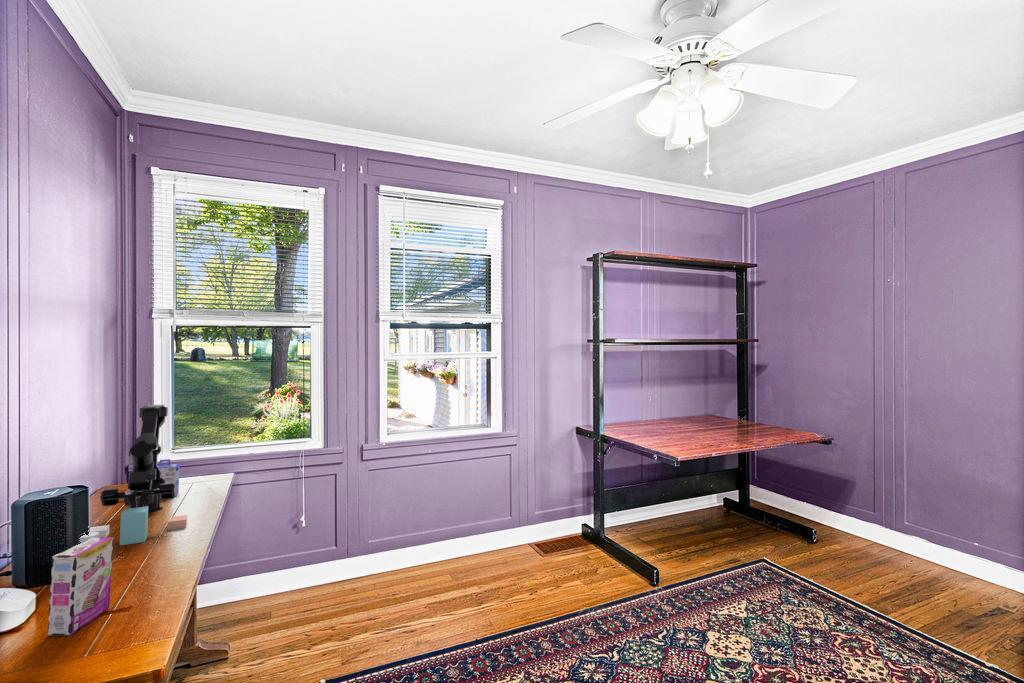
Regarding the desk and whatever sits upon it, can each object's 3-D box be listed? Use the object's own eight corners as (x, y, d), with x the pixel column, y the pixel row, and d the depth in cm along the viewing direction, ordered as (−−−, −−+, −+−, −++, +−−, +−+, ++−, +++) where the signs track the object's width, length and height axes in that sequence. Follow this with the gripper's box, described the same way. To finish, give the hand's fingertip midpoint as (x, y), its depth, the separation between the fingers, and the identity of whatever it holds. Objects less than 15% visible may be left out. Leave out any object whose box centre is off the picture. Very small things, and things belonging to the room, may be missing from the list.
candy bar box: (72, 636, 101) (75, 556, 102) (46, 637, 101) (49, 556, 101) (111, 608, 112) (114, 536, 113) (88, 608, 112) (91, 536, 112)
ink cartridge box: (179, 493, 201) (180, 458, 201) (175, 497, 196) (177, 460, 196) (150, 495, 197) (151, 459, 198) (145, 499, 192) (147, 462, 192)
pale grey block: (88, 540, 151) (89, 527, 151) (109, 537, 154) (109, 524, 154) (84, 546, 147) (84, 532, 147) (105, 543, 149) (105, 530, 149)
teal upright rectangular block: (123, 538, 149) (124, 509, 150) (147, 535, 153) (148, 506, 153) (119, 545, 144) (120, 514, 144) (144, 541, 147) (146, 511, 148)
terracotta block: (168, 529, 162) (169, 517, 162) (187, 527, 164) (187, 515, 164) (167, 534, 157) (167, 521, 157) (185, 531, 160) (186, 519, 160)
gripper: (102, 463, 152) (93, 509, 142) (175, 458, 161) (171, 500, 151) (106, 483, 158) (98, 528, 148) (176, 476, 168) (172, 518, 158)
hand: (136, 518), depth 151 cm, fingers closed, pressing on teal upright rectangular block
